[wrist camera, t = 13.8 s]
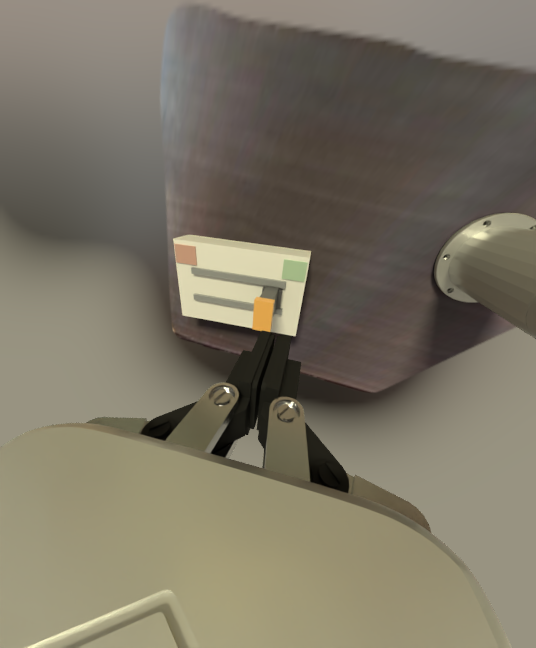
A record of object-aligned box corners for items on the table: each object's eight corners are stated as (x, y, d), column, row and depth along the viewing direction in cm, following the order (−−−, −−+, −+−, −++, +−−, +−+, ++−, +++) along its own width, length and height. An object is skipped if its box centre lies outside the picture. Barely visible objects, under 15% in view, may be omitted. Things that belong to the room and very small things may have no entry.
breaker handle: (283, 284, 35) (275, 303, 29) (280, 310, 37) (272, 333, 31) (264, 281, 35) (251, 299, 29) (261, 307, 38) (250, 329, 31)
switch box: (311, 251, 37) (310, 258, 32) (297, 323, 44) (295, 338, 39) (189, 234, 39) (171, 239, 35) (195, 304, 47) (180, 316, 42)
